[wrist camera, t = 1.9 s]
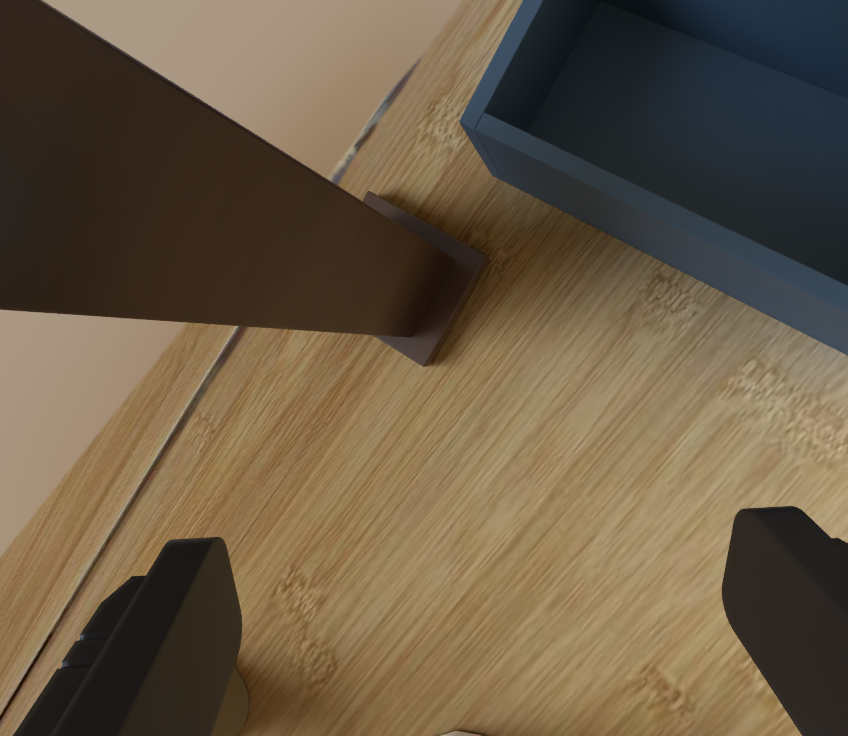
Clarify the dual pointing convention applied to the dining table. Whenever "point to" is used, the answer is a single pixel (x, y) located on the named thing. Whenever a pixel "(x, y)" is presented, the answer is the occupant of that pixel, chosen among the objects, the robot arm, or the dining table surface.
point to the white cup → (460, 734)
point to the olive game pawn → (233, 708)
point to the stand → (192, 208)
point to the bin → (687, 138)
